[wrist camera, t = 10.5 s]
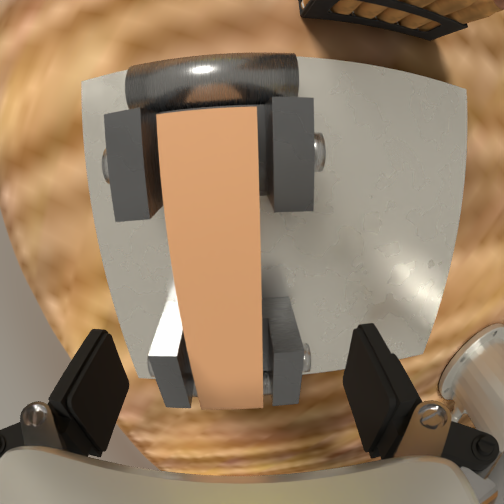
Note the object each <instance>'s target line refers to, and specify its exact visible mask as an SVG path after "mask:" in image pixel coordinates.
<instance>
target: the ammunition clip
mask: <svg viewBox="0 0 504 504" xmlns="http://www.w3.org/2000/svg"><path fill="white" fill-rule="evenodd" d="M298 1H299V9H300V16H301V17H303V18H315V19H326V20H335V21H343V22H350V23H356V24H362V25H368V26H373V27H378V28H383V29H388V30H392V31H396V32H400V33H404V34H408V35H412V36H416V37H419V38H423V39H426V40H429V41H431V40H433V39H436V38H439V37H441V36H444V35H447V34H450V33H453V32H456V31H458V30H461V29H465V28H467V27H468V26H467V23H469V22H472V21H476V20H479V19H482V18H486V17H489V16H491V15H492V14H494V13H495V12H499V11H502V10H504V0H298Z"/></svg>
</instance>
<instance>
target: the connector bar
mask: <svg viewBox="0 0 504 504" xmlns="http://www.w3.org/2000/svg"><path fill="white" fill-rule="evenodd" d="M156 119H157V137H158V151H159V164H160V176H161V186H162V196H163V205H164V214H165V222H166V230H167V237H168V245H169V252H170V258H171V265H172V271H173V278H174V284H175V290H176V295H177V301H178V307H179V312H180V317H181V322H182V327H183V332H184V337H185V342H186V347H187V352H188V356H189V361H190V365H191V370H192V374H193V378H194V382H195V386H196V390H197V394H198V398H199V402H200V406H201V409H250V408H263V350H262V290H261V241H260V200H259V162H258V128H257V107H230V108H213V109H200V110H190V111H180V112H171V113H164V114H156Z"/></svg>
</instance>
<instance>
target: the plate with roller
mask: <svg viewBox="0 0 504 504" xmlns="http://www.w3.org/2000/svg"><path fill="white" fill-rule="evenodd" d="M230 107H257V128H258V162H259V200H260V241H261V290H262V350H263V395H271V397H272V405H273V406H278V405H289V404H298V403H299V396H300V388H301V379H302V374H311V373H320V372H328V371H335V370H342V369H345V367H346V362H347V358H348V353H349V348H350V343H351V338H352V333H353V330H354V329H356V328H357V327H358V325H359V324H367V323H374V325H375V326H376V328H377V329H378V331H379V333H380V334H381V336H382V338H383V340H384V341H385V343H386V345H387V346H388V348H389V350H390V352H391V353H394V354H395V355H396V356H397V357H398V359H402V358H407V357H411V356H416V355H420V354H423V352H424V349H425V347H426V344H427V341H428V339H429V336H430V333H431V330H432V327H433V324H434V321H435V318H436V315H437V312H438V309H439V305H440V302H441V299H442V295H443V292H444V288H445V284H446V281H447V277H448V273H449V269H450V265H451V260H452V256H453V251H454V246H455V241H456V236H457V231H458V225H459V219H460V212H461V205H462V198H463V189H464V180H465V168H466V153H467V94H466V89H464V88H461V87H458V86H455V85H452V84H448V83H445V82H442V81H439V80H435V79H432V78H428V77H424V76H420V75H417V74H413V73H408V72H404V71H400V70H395V69H390V68H385V67H380V66H375V65H369V64H363V63H356V62H349V61H341V60H332V59H322V58H310V57H296V55H295V54H294V53H229V54H213V55H201V56H191V57H183V58H175V59H168V60H162V61H155V62H150V63H144V64H139V65H134V66H131V67H129V69H128V70H125V71H120V72H116V73H112V74H108V75H104V76H100V77H96V78H92V79H89V80H85V81H82V122H83V138H84V150H85V160H86V169H87V177H88V185H89V192H90V199H91V205H92V211H93V217H94V223H95V228H96V233H97V238H98V243H99V248H100V252H101V257H102V261H103V265H104V269H105V273H106V277H107V281H108V285H109V289H110V292H111V296H112V300H113V303H114V307H115V310H116V313H117V317H118V320H119V323H120V326H121V329H122V332H123V335H124V338H125V341H126V344H127V347H128V350H129V353H130V356H131V358H132V361H133V364H134V367H135V369H136V372H137V374H138V377H139V378H150V379H156V381H157V384H158V387H159V389H160V392H161V395H162V398H163V400H164V403H165V405H166V407H173V408H191V403H192V397H198V394H197V390H196V386H195V382H194V378H193V374H192V370H191V365H190V361H189V356H188V352H187V347H186V342H185V337H184V332H183V327H182V322H181V317H180V312H179V307H178V301H177V295H176V290H175V284H174V278H173V271H172V265H171V258H170V252H169V245H168V237H167V230H166V222H165V214H164V205H163V196H162V186H161V176H160V164H159V151H158V137H157V119H156V114H164V113H171V112H180V111H190V110H200V109H213V108H230Z"/></svg>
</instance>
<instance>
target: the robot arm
mask: <svg viewBox="0 0 504 504" xmlns="http://www.w3.org/2000/svg"><path fill="white" fill-rule="evenodd" d="M343 386H344V389H345V392H346V395H347V398H348V401H349V404H350V407H351V410H352V413H353V416H354V419H355V422H356V426H357V429H358V432H359V435H360V438H361V441H362V445H363V448H364V451H365V452H369V453H370V457H371V458H375V457H379V456H381V459H382V460H379V461H373V462H368V463H363V464H358V465H352V466H347V467H341V468H334V469H327V470H320V471H312V472H304V473H294V474H281V475H263V476H214V475H196V474H184V473H174V472H165V471H157V470H150V469H144V468H138V467H132V466H126V465H122V464H117V463H112V462H108V461H103V460H99V459H94V458H90V457H88V455H93V456H97V457H101V455H102V452H103V451H106V449H107V447H108V444H109V441H110V438H111V435H112V432H113V429H114V427H115V424H116V421H117V419H118V416H119V413H120V410H121V408H122V405H123V402H124V400H125V397H126V394H127V392H128V389H129V381H128V378H127V376H126V373H125V371H124V368H123V365H122V363H121V360H120V358H119V355H118V352H117V350H116V347H115V344H114V341H113V338H112V336H111V334H108V332H107V331H106V330H101V329H92V330H91V331H90V333H89V334H88V336H87V337H86V339H85V340H84V342H83V343H82V345H81V347H80V348H79V350H78V351H77V353H76V354H75V356H74V357H73V359H72V361H71V362H70V364H69V365H68V367H67V369H66V370H65V372H64V373H63V375H62V377H61V378H60V380H59V382H58V383H57V385H56V387H55V388H54V390H53V392H52V393H51V395H50V397H49V403H48V404H46V403H44V402H41V401H36V402H32V403H30V404H28V405H27V406H26V407H25V408H24V409H23V410H22V412H21V415H20V422H19V423H17V424H14V425H12V426H9V427H7V428H4V429H2V430H0V504H504V325H503V324H493V325H490V326H488V327H486V328H484V329H483V330H481V331H480V332H478V333H477V334H476V335H475V336H473V337H472V338H471V339H470V340H469V341H468V342H467V343H466V344H464V346H463V347H462V348H461V349H460V350H459V351H458V352H457V353H456V354H455V356H454V357H453V358H452V359H451V361H450V362H449V364H448V365H447V367H446V369H445V370H444V372H443V374H442V377H441V379H440V382H439V391H440V393H441V395H442V396H443V397H444V398H445V399H447V400H454V402H455V404H454V409H453V410H452V412H451V413H450V411H449V409H448V408H447V407H446V406H445V405H444V404H442V403H440V402H438V401H433V400H430V401H424V402H422V400H421V399H420V397H419V395H418V393H417V391H416V389H415V387H414V386H413V384H412V382H411V380H410V378H409V377H408V375H407V373H406V371H405V370H404V368H403V366H402V364H401V363H400V361H399V359H398V357H397V356H396V355H395V354H394V353H391V352H390V350H389V348H388V346H387V345H386V343H385V341H384V340H383V338H382V336H381V334H380V333H379V331H378V329H377V328H376V326H375V325H374V323H367V324H359V325H358V327H357V328H356V329H354V330H353V333H352V338H351V343H350V348H349V353H348V358H347V362H346V367H345V371H344V376H343ZM464 413H466V414H468V416H469V417H470V419H471V421H472V422H473V424H474V426H475V427H476V429H477V430H476V429H473V428H471V427H468V426H465V425H462V424H459V423H457V422H458V421H459V419H460V418H461V417H462V414H464Z"/></svg>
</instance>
